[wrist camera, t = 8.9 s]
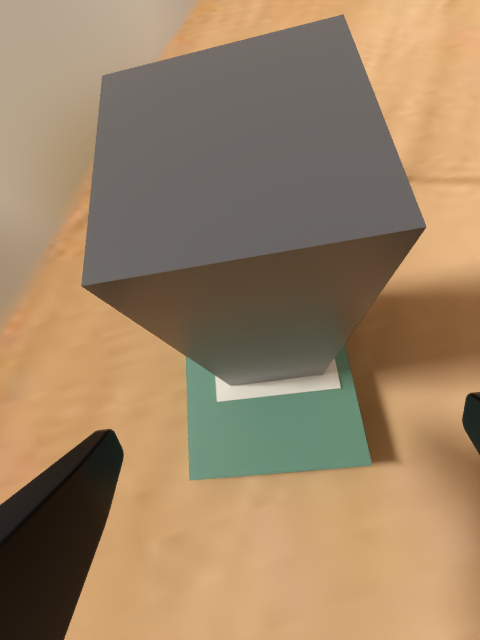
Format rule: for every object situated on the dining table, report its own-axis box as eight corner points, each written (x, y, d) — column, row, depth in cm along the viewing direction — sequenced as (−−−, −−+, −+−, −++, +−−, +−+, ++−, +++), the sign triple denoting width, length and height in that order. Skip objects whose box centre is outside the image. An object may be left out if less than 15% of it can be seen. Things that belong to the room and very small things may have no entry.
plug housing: (322, 374, 16) (426, 227, 4) (230, 386, 16) (81, 285, 4) (305, 286, 17) (340, 7, 6) (223, 299, 18) (103, 68, 6)
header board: (366, 462, 15) (381, 470, 13) (196, 476, 16) (179, 486, 14) (315, 235, 20) (320, 207, 17) (188, 257, 21) (174, 234, 18)
